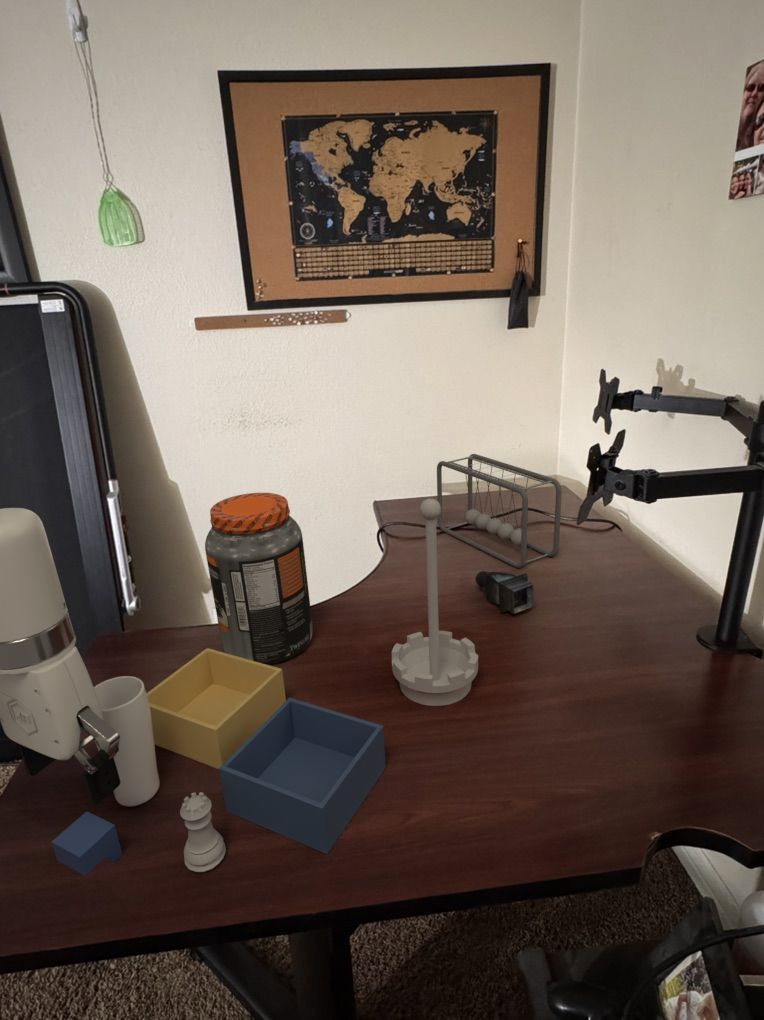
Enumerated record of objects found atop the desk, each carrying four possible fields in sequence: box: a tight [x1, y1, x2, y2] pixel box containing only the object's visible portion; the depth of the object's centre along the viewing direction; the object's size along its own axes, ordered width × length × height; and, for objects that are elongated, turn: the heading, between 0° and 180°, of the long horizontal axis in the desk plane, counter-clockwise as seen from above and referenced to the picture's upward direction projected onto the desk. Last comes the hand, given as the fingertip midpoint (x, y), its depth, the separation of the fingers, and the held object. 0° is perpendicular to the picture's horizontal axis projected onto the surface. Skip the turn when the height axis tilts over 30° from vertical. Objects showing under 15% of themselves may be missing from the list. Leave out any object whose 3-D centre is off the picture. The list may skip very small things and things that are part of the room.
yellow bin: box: [146, 647, 287, 770], centre depth 89 cm, size 14×14×7 cm
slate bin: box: [218, 697, 387, 855], centre depth 77 cm, size 14×14×7 cm
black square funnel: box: [475, 570, 534, 615], centre depth 118 cm, size 6×13×6 cm, turn 30°
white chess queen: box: [179, 791, 227, 873], centre depth 68 cm, size 4×4×8 cm
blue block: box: [51, 811, 123, 877], centre depth 68 cm, size 4×4×4 cm
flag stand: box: [391, 498, 479, 707], centre depth 91 cm, size 13×13×30 cm
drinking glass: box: [93, 675, 161, 807], centre depth 76 cm, size 7×7×15 cm
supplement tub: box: [204, 492, 314, 665], centre depth 105 cm, size 16×16×26 cm
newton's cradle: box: [436, 453, 563, 570], centre depth 141 cm, size 30×10×18 cm, turn 32°
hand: (74, 779), depth 65 cm, fingers open, 9 cm apart
